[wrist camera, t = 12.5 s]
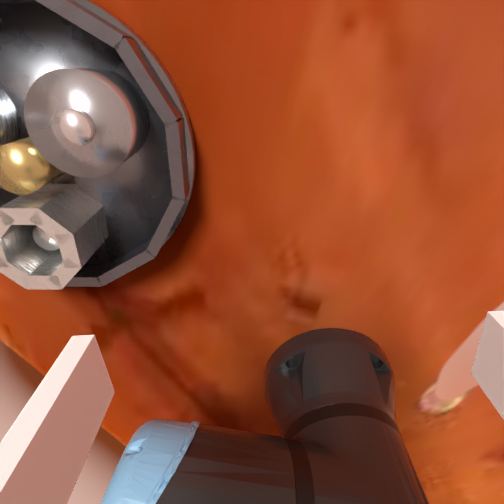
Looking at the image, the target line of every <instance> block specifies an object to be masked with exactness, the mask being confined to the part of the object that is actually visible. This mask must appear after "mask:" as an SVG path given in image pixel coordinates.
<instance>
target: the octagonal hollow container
mask: <svg viewBox="0 0 504 504" xmlns="http://www.w3.org/2000/svg"><path fill="white" fill-rule="evenodd" d="M37 226H38V227H39V228H41V229H42V230H43V231H45V232H46V233H47V234H49V235H50V236H52V237H53V238H54V239H56V240H57V241H58V244H59V249H57V250H46V249H44V248H42V247H40V246H39V245H38V244H37V243H36V242H35V240H34V238H33V230H34V229H35V227H37ZM108 236H109V233H108V228H107V223H106V218H105V213H104V208H103V206H102V205H101V204H100V203H98V202H97V201H96V200H95V199H93V198H92V197H91V196H90V195H88V194H87V193H86V192H85V191H83V190H82V189H81V188H80V187H78V186H77V185H76V184H46V185H45V186H43V187H41V188H39V189H38V190H36V191H34V192H32V193H30V194H27V195H21V196H19V197H17V198H15V199H14V200H12V201H10V202H8V203H6V204H5V205H3V206H1V207H0V272H1V273H2V274H4V275H5V276H7V277H8V278H10V279H11V280H13V281H15V282H16V283H18V284H19V285H21V286H22V287H24V288H25V289H63V288H64V287H65V285H66V284H67V283H68V282H69V281H70V280H71V279H72V278H73V277H74V275H75V274H76V273H77V272H78V271H79V270H80V269H81V268H82V267H83V265H84V264H85V263H86V262H87V261H88V260H89V258H90V257H91V256H92V255H93V254H94V252H95V251H96V250H97V249H98V248H99V247H100V245H101V244H102V243H103V242H104V241H105V240H106V238H107V237H108Z"/></svg>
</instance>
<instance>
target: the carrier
mask: <svg viewBox="0 0 504 504" xmlns="http://www.w3.org/2000/svg"><path fill="white" fill-rule="evenodd" d="M195 172H196V150H195V143H194V135H193V130H192V127H191V123H190V119H189V115H188V112H187V110H186V107H185V105H184V102H183V100H182V97H181V95H180V93H179V91H178V89H177V87H176V85H175V83H174V81H173V80H172V78H171V76H170V74H169V73H168V71H167V70H166V68H165V67H164V66H163V64H162V63H161V61H160V60H159V58H158V57H157V56H156V54H155V53H154V52H153V51H152V50H151V49H150V48H149V46H148V45H147V44H146V43H145V42H144V41H143V40H142V38H140V37H139V36H138V35H137V34H136V33H135V32H134V31H133V30H132V29H131V28H129V27H128V26H127V25H126V24H125V23H124V22H122V21H121V20H120V19H118V18H117V17H115V16H114V15H113V14H111V13H110V12H108V11H107V10H106V9H104V8H102V7H101V6H99V5H97V4H95V3H93V2H91V1H90V0H0V207H1V206H3V205H5V204H6V203H8V202H10V201H12V200H14V199H15V198H17V197H19V196H21V195H27V194H30V193H32V192H34V191H36V190H38V189H39V188H41V187H43V186H45V185H46V184H76V185H77V186H78V187H80V188H81V189H82V190H83V191H85V192H86V193H87V194H88V195H90V196H91V197H92V198H93V199H95V200H96V201H97V202H98V203H100V204H101V205H102V206H103V208H104V213H105V218H106V223H107V228H108V233H109V236H108V237H107V238H106V240H105V241H104V242H103V243H102V244H101V245H100V247H99V248H98V249H97V250H96V251H95V252H94V254H93V255H92V256H91V257H90V258H89V260H88V261H87V262H86V263H85V264H84V265H83V267H82V268H81V269H80V270H79V271H78V272H77V273H76V274H75V275H74V277H73V278H72V279H71V280H70V281H69V282H68V283H67V284H66V285H65V287H101V286H104V285H106V284H108V283H110V282H112V281H114V280H116V279H117V278H119V277H121V276H123V275H125V274H127V273H128V272H130V271H132V270H134V269H136V268H138V267H140V266H141V265H143V264H145V263H147V262H149V261H151V260H152V259H154V258H155V257H156V256H157V254H158V252H159V250H160V248H161V247H162V246H163V245H164V244H165V243H166V242H167V240H168V239H169V238H170V237H171V236H172V234H173V233H174V231H175V230H176V228H177V226H178V225H179V223H180V222H181V220H182V217H183V215H184V213H185V211H186V208H187V206H188V204H189V201H190V198H191V194H192V190H193V187H194V180H195ZM33 238H34V240H35V242H36V243H37V244H38V245H39V246H40V247H42V248H44V249H46V250H57V249H59V244H58V241H57V240H56V239H54V238H53V237H52V236H50V235H49V234H47V233H46V232H45V231H43V230H42V229H41V228H39V227H38V226H37V227H35V229H34V230H33Z"/></svg>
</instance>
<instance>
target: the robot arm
mask: <svg viewBox="0 0 504 504" xmlns="http://www.w3.org/2000/svg"><path fill="white" fill-rule="evenodd" d="M471 374H472V376H473V377H474V379H475V380H476V381H477V383H478V384H479V386H480V387H481V388H482V390H483V391H484V393H485V394H486V395H487V397H488V398H489V400H490V401H491V403H492V404H493V405H494V407H495V408H496V410H497V411H498V412H499V414H500V415H501V417H502V418H503V419H504V311H490V312H488V313H487V316H486V320H485V323H484V327H483V331H482V335H481V338H480V342H479V346H478V349H477V352H476V356H475V359H474V363H473V367H472V370H471ZM264 389H265V397H266V401H267V404H268V406H269V409H270V411H271V413H272V416H273V418H274V420H275V423H276V425H277V427H278V430H279V432H280V434H281V437H277V436H271V435H265V434H259V433H253V432H247V431H241V430H235V429H229V428H223V427H217V426H211V425H205V424H199V422H198V421H192V422H182V421H173V420H164V419H154V420H150V421H148V422H146V423H144V424H143V425H142V426H140V427H139V428H138V429H137V430H136V432H135V433H134V434H133V436H132V438H131V439H130V441H129V443H128V445H127V446H126V448H125V450H124V453H123V454H122V457H121V459H120V461H119V463H118V465H117V468H116V470H115V472H114V474H113V476H112V479H111V481H110V483H109V486H108V488H107V490H106V493H105V495H104V497H103V500H102V502H101V504H429V503H428V500H427V498H426V495H425V493H424V491H423V488H422V486H421V483H420V481H419V478H418V476H417V473H416V471H415V469H414V466H413V464H412V461H411V459H410V456H409V454H408V451H407V449H406V447H405V444H404V442H403V439H402V437H401V434H400V432H399V429H398V427H397V424H396V413H395V381H394V375H393V371H392V369H391V366H390V364H389V362H388V360H387V357H386V355H385V353H384V352H383V350H382V349H381V348H380V346H379V345H378V344H377V343H375V342H374V341H373V340H371V339H370V338H368V337H366V336H365V335H362V334H360V333H357V332H354V331H350V330H345V329H335V328H330V329H319V330H313V331H309V332H306V333H303V334H300V335H298V336H296V337H294V338H292V339H290V340H288V341H287V342H285V343H284V344H282V345H281V346H280V347H279V348H278V349H277V350H276V351H275V352H274V353H273V354H272V356H271V357H270V359H269V361H268V363H267V365H266V368H265V372H264ZM114 393H115V391H114V388H113V385H112V383H111V380H110V377H109V374H108V371H107V369H106V366H105V363H104V360H103V357H102V355H101V352H100V349H99V346H98V343H97V341H96V338H95V335H82V336H72V337H71V339H70V340H69V342H68V343H67V345H66V346H65V348H64V349H63V351H62V352H61V354H60V355H59V357H58V358H57V360H56V361H55V363H54V364H53V366H52V367H51V368H50V370H49V371H48V373H47V374H46V376H45V377H44V379H43V381H42V382H41V383H40V385H39V386H38V388H37V389H36V391H35V392H34V394H33V395H32V397H31V398H30V400H29V401H28V402H27V404H26V406H25V407H24V408H23V410H22V411H21V413H20V414H19V416H18V417H17V419H16V420H15V422H14V423H13V425H12V426H11V428H10V429H9V431H8V432H7V434H6V435H5V437H4V438H3V439H2V441H1V442H0V504H67V502H68V500H69V497H70V495H71V493H72V491H73V488H74V486H75V484H76V481H77V479H78V476H79V474H80V472H81V470H82V467H83V465H84V463H85V460H86V458H87V456H88V453H89V451H90V449H91V446H92V444H93V441H94V439H95V437H96V434H97V432H98V430H99V428H100V425H101V423H102V421H103V418H104V416H105V414H106V411H107V409H108V407H109V404H110V402H111V400H112V397H113V395H114Z"/></svg>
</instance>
